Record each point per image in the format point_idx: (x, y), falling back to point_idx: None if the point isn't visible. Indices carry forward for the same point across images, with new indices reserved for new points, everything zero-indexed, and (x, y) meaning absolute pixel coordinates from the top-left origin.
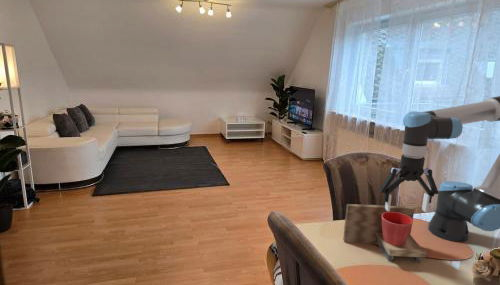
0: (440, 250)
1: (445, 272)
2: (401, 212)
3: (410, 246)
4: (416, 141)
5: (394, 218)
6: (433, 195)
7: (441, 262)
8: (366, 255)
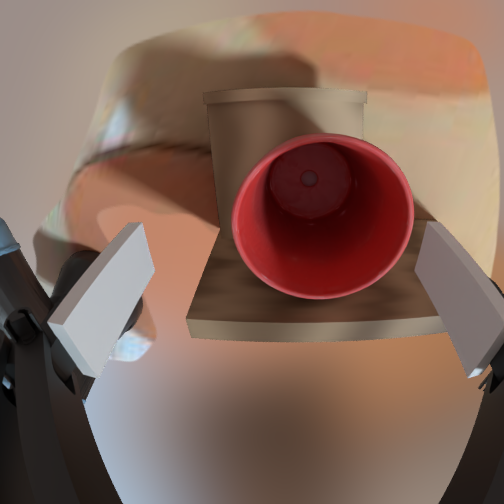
0: (134, 198)
1: (163, 70)
2: (258, 303)
3: (254, 139)
4: None
5: (303, 268)
6: (13, 314)
7: (153, 126)
8: (403, 144)
